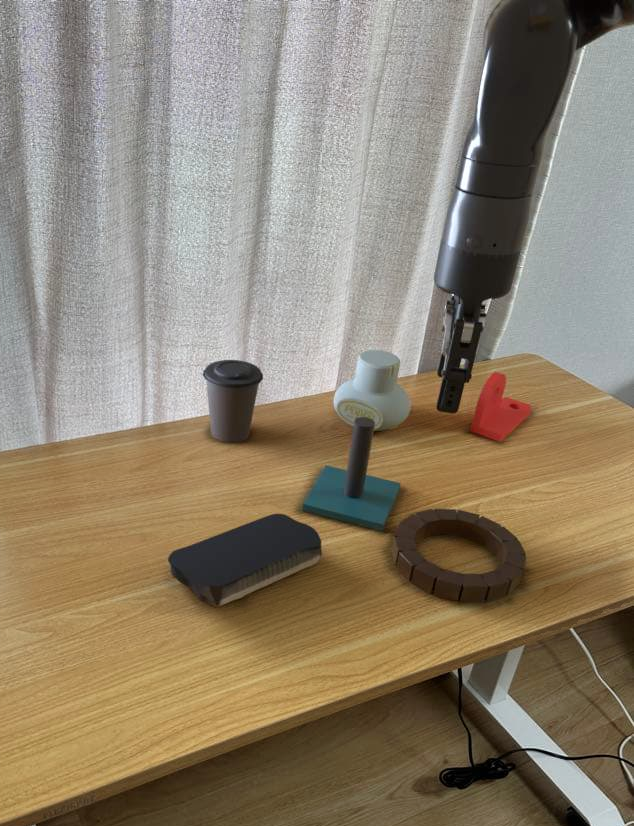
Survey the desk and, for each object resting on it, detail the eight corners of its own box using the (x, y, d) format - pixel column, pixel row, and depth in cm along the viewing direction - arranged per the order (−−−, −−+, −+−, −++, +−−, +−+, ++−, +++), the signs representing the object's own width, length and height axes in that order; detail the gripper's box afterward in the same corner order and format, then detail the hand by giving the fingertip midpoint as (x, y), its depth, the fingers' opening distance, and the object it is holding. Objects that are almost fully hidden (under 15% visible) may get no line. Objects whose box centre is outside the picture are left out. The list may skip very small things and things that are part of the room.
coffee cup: (241, 453, 108) (245, 385, 102) (190, 436, 112) (191, 369, 106) (269, 429, 114) (274, 363, 108) (219, 413, 117) (222, 349, 111)
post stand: (399, 489, 103) (415, 412, 96) (382, 531, 96) (397, 451, 89) (324, 471, 106) (335, 395, 99) (301, 510, 98) (311, 431, 92)
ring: (526, 542, 95) (531, 527, 94) (513, 617, 84) (519, 601, 83) (405, 512, 99) (409, 497, 98) (379, 580, 88) (382, 564, 87)
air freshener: (322, 421, 117) (330, 356, 111) (347, 400, 122) (357, 338, 116) (391, 444, 112) (403, 378, 106) (414, 422, 118) (427, 358, 112)
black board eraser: (207, 620, 82) (208, 593, 79) (162, 576, 87) (162, 549, 85) (327, 567, 90) (331, 540, 87) (280, 529, 95) (283, 503, 93)
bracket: (499, 441, 114) (513, 391, 110) (470, 431, 116) (483, 380, 112) (531, 412, 122) (546, 364, 117) (503, 403, 124) (517, 355, 119)
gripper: (528, 266, 71) (484, 429, 80) (517, 223, 82) (480, 370, 92) (441, 256, 72) (408, 418, 81) (442, 215, 83) (413, 362, 93)
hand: (446, 393), depth 87 cm, fingers open, 8 cm apart
